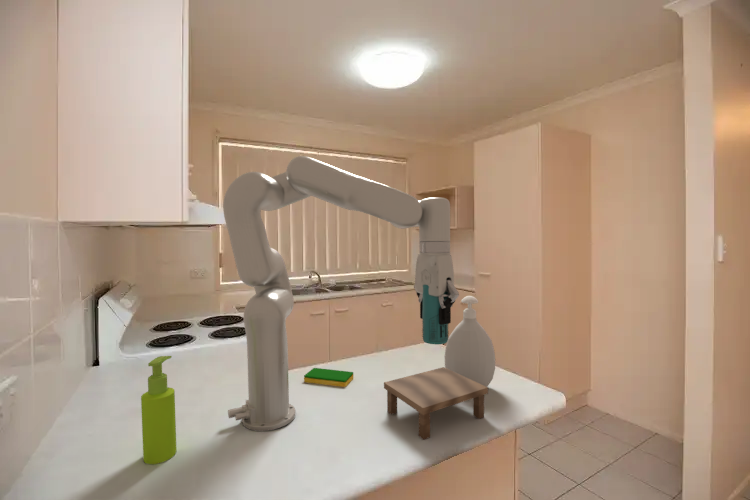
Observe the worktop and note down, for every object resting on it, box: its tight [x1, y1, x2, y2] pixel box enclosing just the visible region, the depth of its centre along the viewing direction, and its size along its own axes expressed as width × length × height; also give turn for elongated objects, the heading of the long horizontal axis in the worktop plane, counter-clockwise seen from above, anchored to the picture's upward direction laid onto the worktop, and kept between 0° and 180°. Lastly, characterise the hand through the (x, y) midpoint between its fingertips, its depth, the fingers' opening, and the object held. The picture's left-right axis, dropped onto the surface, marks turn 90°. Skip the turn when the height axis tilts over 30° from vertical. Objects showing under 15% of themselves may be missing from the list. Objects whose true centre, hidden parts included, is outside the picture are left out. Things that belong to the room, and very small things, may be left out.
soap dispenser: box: [140, 355, 177, 465], centre depth 75 cm, size 6×7×20 cm
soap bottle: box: [444, 295, 496, 387], centre depth 107 cm, size 14×8×27 cm, turn 77°
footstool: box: [383, 366, 489, 440], centre depth 90 cm, size 20×16×8 cm
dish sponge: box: [303, 367, 354, 388], centre depth 113 cm, size 7×14×2 cm, turn 73°
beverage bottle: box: [421, 285, 450, 345], centre depth 89 cm, size 6×7×20 cm
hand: (435, 320), depth 90 cm, fingers closed on beverage bottle, 6 cm apart
